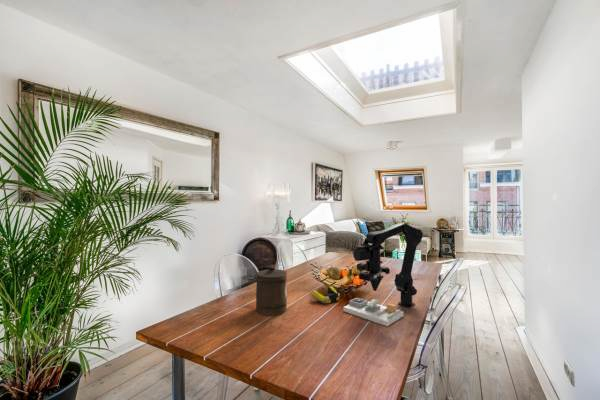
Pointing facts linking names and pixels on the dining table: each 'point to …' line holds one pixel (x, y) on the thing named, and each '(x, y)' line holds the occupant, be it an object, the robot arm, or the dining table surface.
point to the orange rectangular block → (391, 308)
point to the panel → (373, 312)
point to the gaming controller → (327, 296)
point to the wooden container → (271, 291)
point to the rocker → (372, 303)
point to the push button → (358, 300)
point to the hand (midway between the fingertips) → (374, 290)
